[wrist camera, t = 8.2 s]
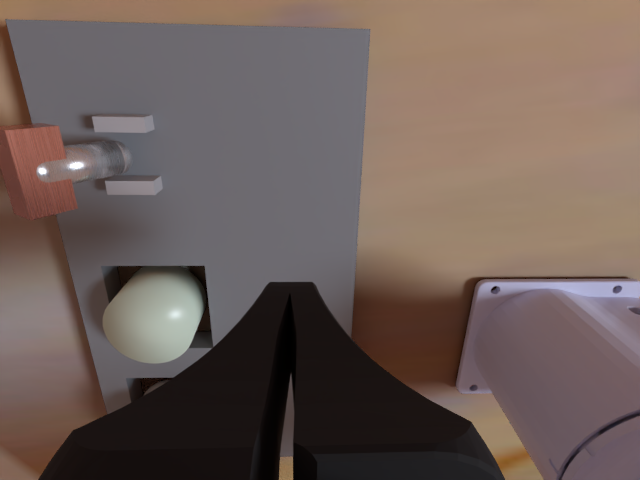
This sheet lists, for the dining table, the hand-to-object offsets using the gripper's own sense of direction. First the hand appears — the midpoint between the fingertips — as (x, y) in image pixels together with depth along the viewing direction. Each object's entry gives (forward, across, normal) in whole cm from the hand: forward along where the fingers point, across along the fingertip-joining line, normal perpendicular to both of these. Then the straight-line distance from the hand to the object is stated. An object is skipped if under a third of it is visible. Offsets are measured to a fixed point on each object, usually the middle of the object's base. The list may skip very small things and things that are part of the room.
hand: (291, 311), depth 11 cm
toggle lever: (+7, +7, -3) cm, 11 cm away
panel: (+9, +4, +4) cm, 11 cm away
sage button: (+9, +7, +5) cm, 12 cm away
